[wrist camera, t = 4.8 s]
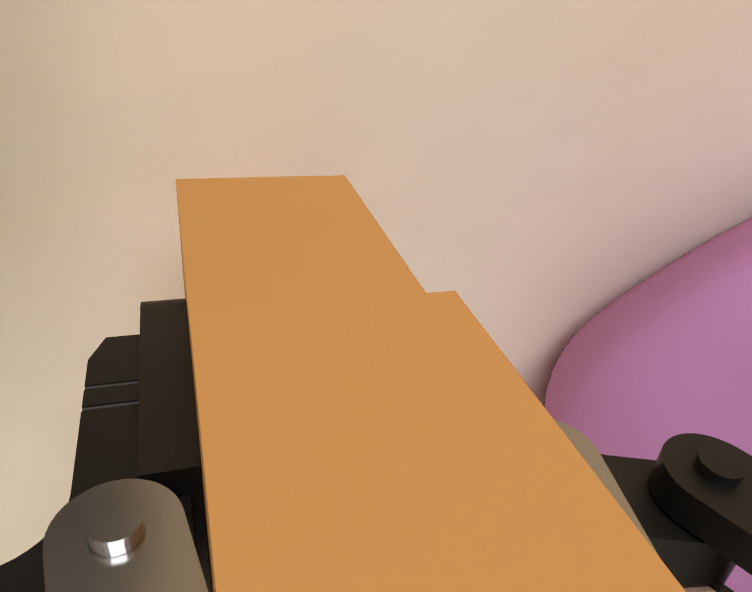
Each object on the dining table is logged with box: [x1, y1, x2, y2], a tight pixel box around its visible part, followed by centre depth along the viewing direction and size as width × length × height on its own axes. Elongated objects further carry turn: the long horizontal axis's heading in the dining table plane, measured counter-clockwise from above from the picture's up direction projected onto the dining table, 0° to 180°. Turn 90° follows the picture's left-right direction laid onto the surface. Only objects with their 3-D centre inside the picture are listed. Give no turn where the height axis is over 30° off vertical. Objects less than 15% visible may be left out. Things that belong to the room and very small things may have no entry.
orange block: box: [176, 175, 686, 592], centre depth 8 cm, size 3×5×10 cm, turn 175°
